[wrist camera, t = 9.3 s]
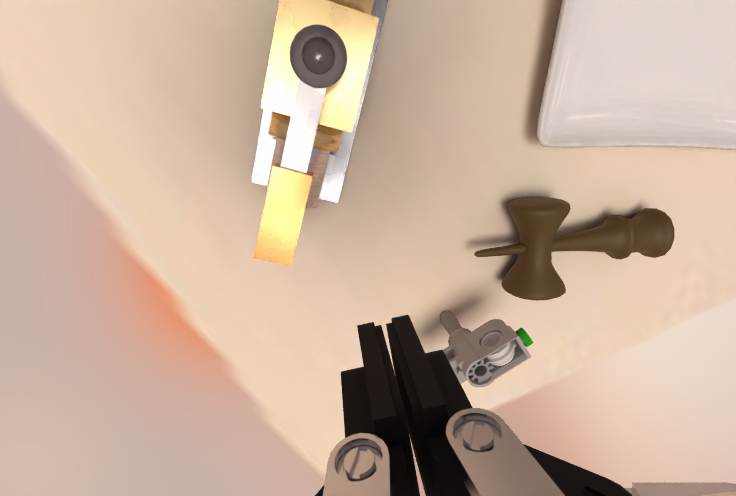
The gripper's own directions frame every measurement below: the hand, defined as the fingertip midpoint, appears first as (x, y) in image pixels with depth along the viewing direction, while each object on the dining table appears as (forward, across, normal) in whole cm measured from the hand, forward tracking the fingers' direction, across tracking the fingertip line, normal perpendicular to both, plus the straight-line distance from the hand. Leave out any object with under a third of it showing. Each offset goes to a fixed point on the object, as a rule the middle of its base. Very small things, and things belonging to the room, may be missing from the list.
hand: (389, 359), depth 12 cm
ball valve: (+26, 0, -10) cm, 28 cm away
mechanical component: (+26, -9, +16) cm, 32 cm away
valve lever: (+15, +3, -6) cm, 16 cm away
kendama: (+27, -21, +9) cm, 35 cm away
